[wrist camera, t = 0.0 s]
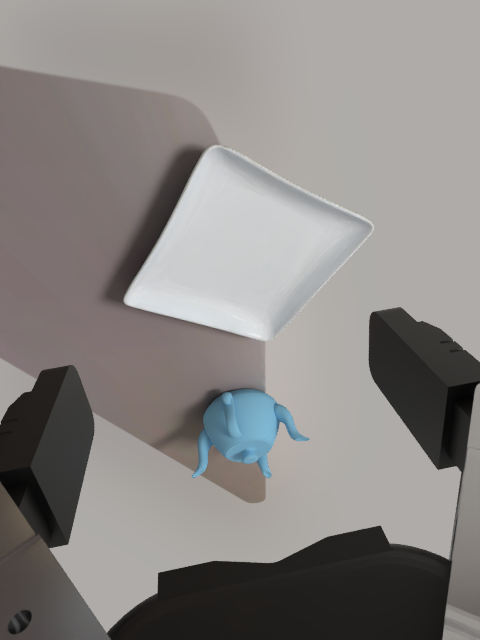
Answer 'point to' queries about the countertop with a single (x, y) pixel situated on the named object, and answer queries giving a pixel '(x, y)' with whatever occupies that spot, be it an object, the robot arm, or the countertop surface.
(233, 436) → the teapot
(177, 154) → the countertop surface
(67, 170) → the countertop surface
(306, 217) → the salad plate
